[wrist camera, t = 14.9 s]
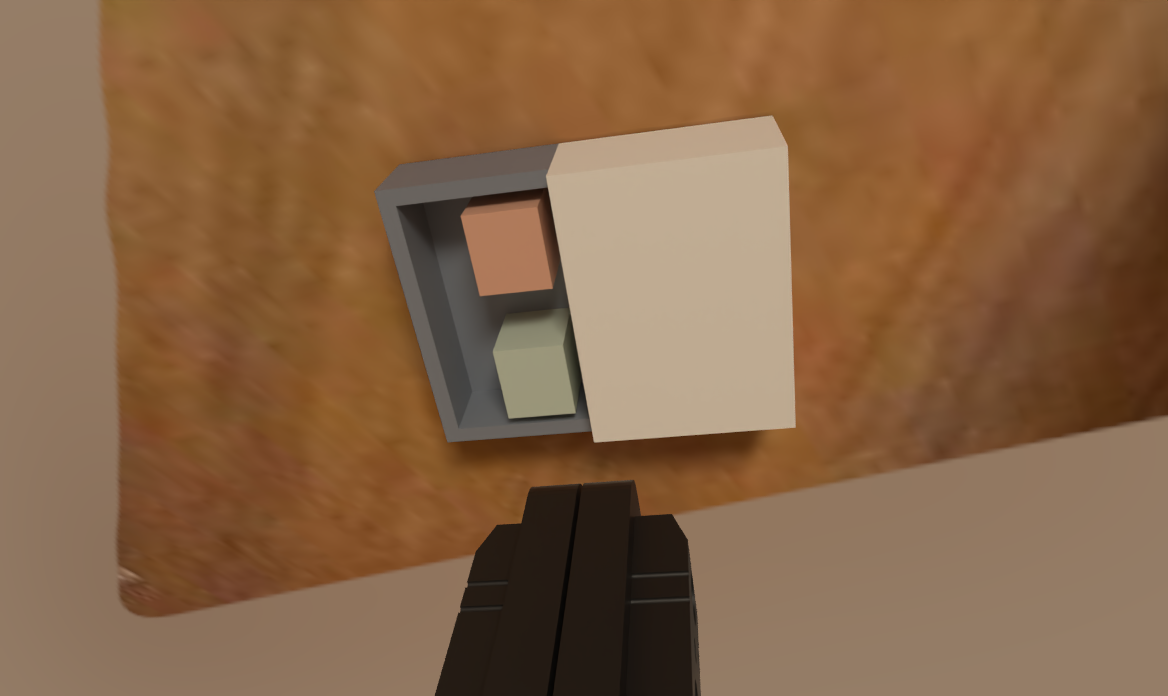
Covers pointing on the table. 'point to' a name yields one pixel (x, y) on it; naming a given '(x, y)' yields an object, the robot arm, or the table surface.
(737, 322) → the cream rectangular block
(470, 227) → the orange cube
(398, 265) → the box
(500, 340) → the sage green cube
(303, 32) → the table surface
